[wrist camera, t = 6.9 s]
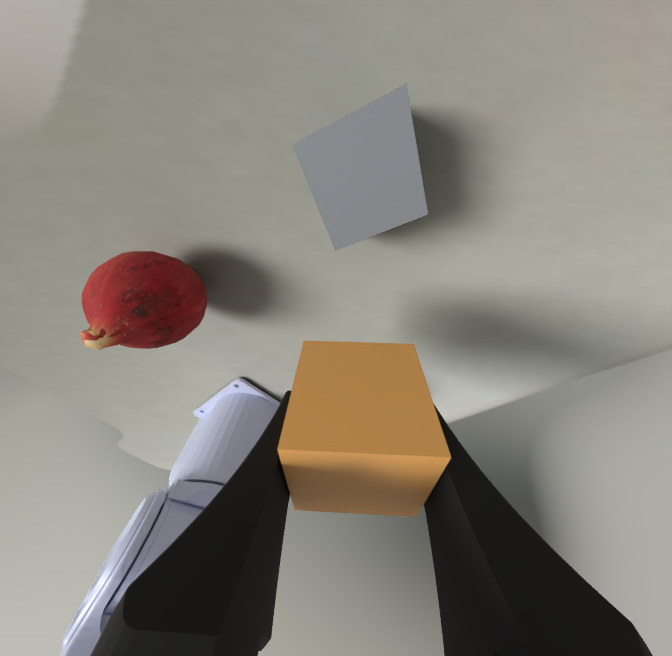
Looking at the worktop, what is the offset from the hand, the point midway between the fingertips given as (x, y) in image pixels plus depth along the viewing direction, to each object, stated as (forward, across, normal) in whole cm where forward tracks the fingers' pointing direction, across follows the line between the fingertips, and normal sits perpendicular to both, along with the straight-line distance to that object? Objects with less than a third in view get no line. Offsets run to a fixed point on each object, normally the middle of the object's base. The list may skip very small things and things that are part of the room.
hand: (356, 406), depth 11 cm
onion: (+10, +13, -2) cm, 16 cm away
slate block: (+10, 0, -8) cm, 13 cm away
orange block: (+2, 0, 0) cm, 2 cm away
